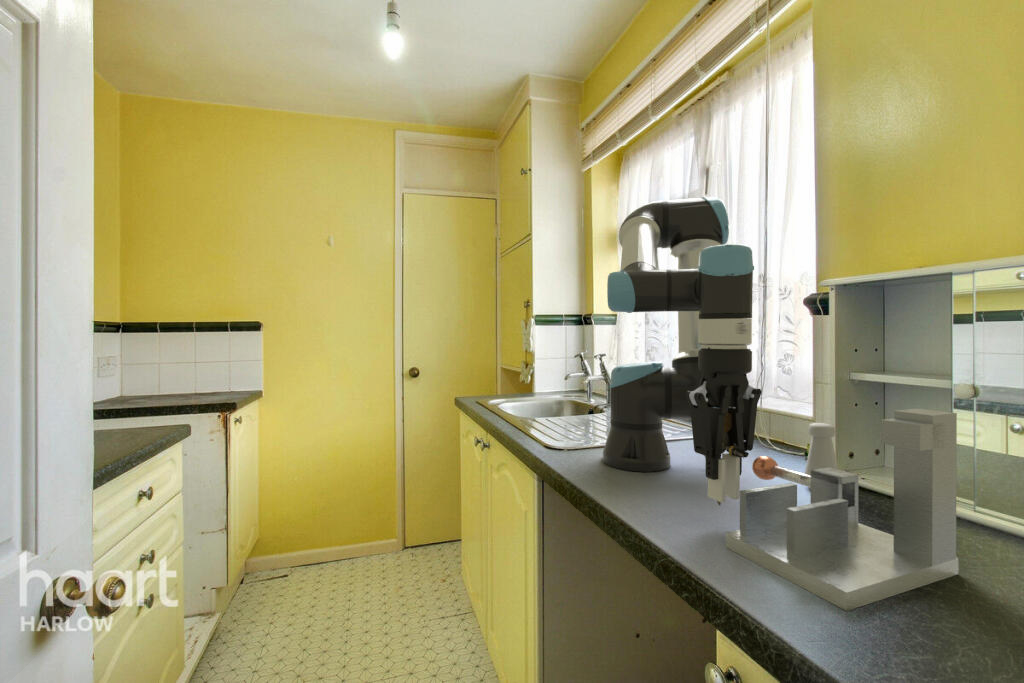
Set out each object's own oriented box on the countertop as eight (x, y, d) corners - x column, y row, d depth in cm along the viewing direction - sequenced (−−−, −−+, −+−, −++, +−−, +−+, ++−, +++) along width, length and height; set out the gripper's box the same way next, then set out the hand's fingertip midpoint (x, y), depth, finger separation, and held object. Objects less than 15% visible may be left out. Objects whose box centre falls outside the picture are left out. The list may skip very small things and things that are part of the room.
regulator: (694, 500, 73) (696, 408, 72) (712, 496, 74) (714, 406, 74) (733, 518, 66) (736, 416, 65) (752, 514, 67) (755, 414, 67)
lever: (746, 477, 79) (746, 454, 79) (763, 475, 80) (763, 452, 80) (832, 505, 65) (832, 478, 65) (850, 502, 67) (850, 475, 67)
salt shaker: (846, 497, 83) (846, 427, 83) (811, 495, 84) (812, 426, 84) (830, 487, 89) (831, 421, 89) (798, 485, 90) (798, 420, 90)
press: (725, 547, 63) (726, 404, 63) (827, 524, 71) (827, 397, 71) (846, 611, 48) (847, 424, 48) (958, 574, 56) (959, 412, 56)
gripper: (704, 348, 63) (703, 514, 64) (782, 346, 69) (780, 499, 69) (668, 347, 70) (667, 496, 71) (741, 345, 76) (739, 483, 76)
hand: (723, 497), depth 70 cm, fingers closed on regulator, 2 cm apart
